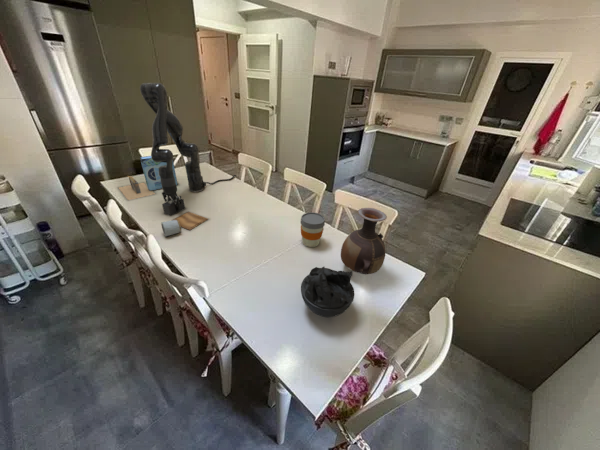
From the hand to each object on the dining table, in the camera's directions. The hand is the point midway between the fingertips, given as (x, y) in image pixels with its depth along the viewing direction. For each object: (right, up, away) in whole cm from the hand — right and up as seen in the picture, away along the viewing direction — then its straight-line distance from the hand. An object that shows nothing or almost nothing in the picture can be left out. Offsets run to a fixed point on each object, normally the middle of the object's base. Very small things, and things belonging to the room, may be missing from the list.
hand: (174, 209), depth 155 cm
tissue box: (0, -1, +1) cm, 1 cm away
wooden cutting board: (+12, -7, -8) cm, 17 cm away
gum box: (-23, +18, +28) cm, 40 cm away
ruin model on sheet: (-37, +14, +21) cm, 45 cm away
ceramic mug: (+8, -14, -19) cm, 25 cm away
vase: (+105, -31, -35) cm, 115 cm away
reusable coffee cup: (+83, -19, -19) cm, 87 cm away
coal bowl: (+87, -42, -56) cm, 111 cm away
